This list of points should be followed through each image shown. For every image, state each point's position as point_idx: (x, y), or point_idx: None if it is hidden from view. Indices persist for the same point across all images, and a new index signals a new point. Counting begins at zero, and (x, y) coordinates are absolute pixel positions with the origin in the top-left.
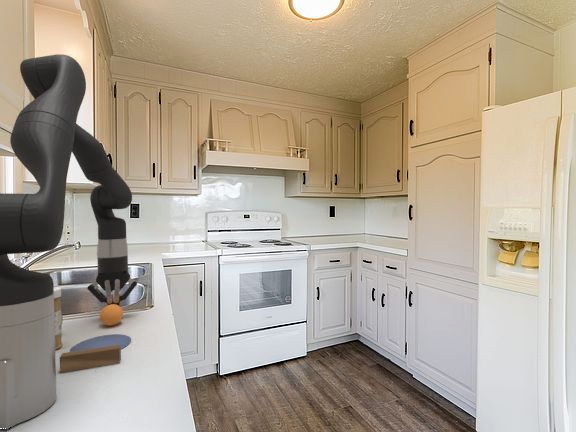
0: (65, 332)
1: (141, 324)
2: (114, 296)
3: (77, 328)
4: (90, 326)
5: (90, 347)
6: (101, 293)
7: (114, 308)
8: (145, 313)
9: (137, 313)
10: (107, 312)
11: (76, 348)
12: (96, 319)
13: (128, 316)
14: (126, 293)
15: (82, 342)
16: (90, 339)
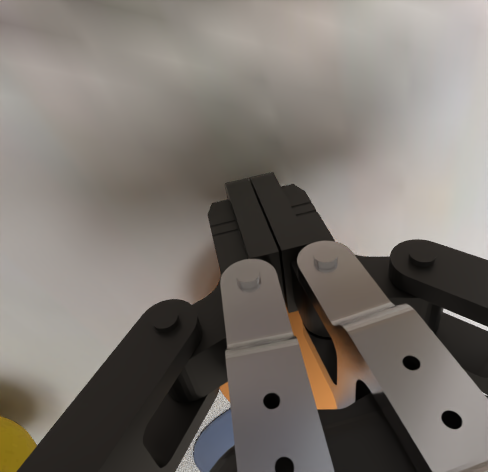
0: (28, 365)
1: None
2: (327, 381)
3: (59, 323)
4: (130, 299)
5: None
6: (149, 415)
7: None
8: (483, 76)
9: (420, 58)
10: None
11: (214, 461)
12: (80, 170)
13: (347, 135)
14: (469, 365)
15: (211, 436)
16: (230, 419)
